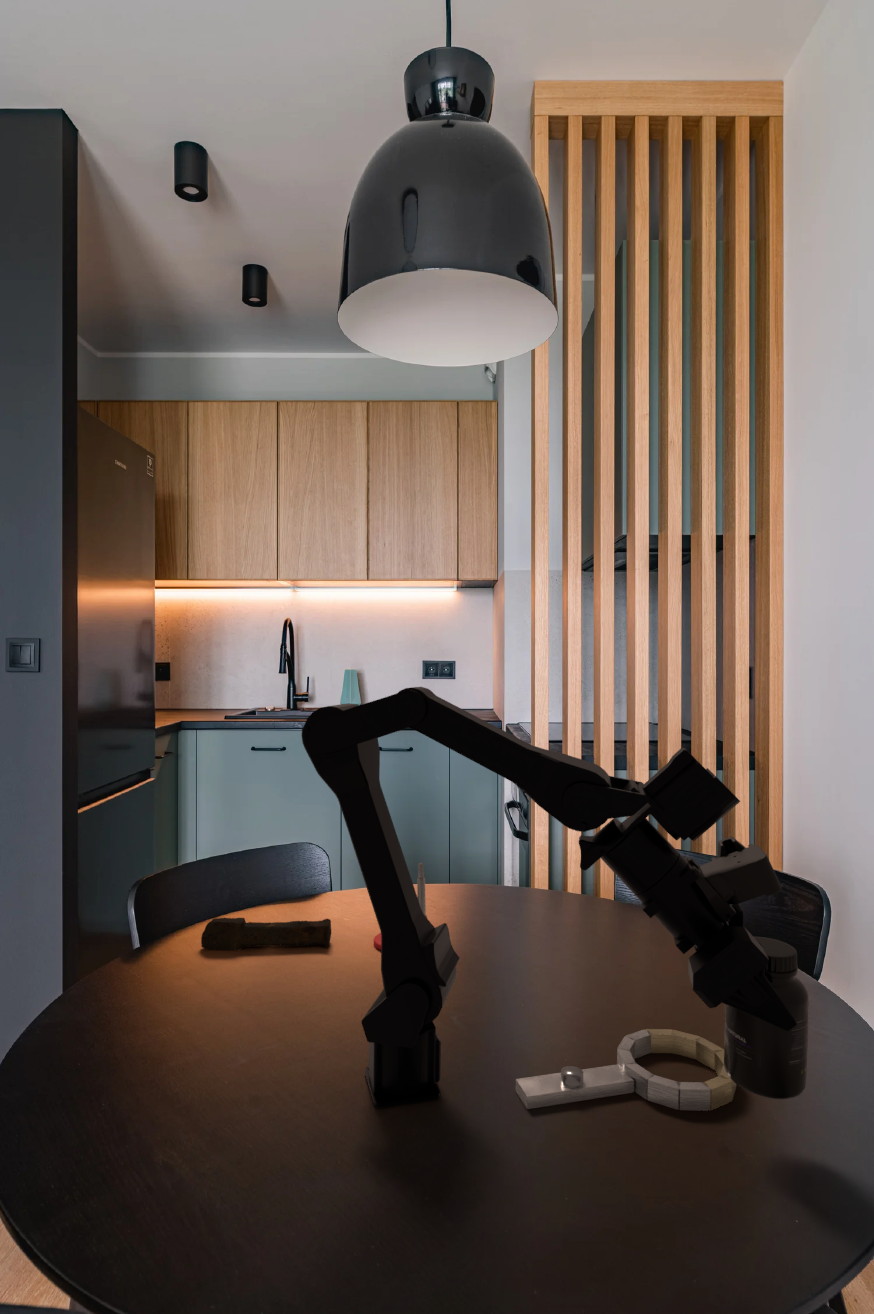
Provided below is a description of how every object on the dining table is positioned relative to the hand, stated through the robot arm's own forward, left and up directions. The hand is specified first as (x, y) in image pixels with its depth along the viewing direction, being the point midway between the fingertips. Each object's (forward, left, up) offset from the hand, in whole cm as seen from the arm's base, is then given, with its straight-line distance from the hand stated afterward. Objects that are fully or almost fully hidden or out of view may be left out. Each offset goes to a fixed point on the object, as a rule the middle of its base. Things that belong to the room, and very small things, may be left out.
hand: (782, 1008), depth 64 cm
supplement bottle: (-1, +1, -7) cm, 7 cm away
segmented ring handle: (-12, +12, -12) cm, 20 cm away
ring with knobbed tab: (+3, +12, -12) cm, 17 cm away
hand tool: (-43, +56, -13) cm, 72 cm away
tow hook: (-23, +53, -12) cm, 59 cm away
